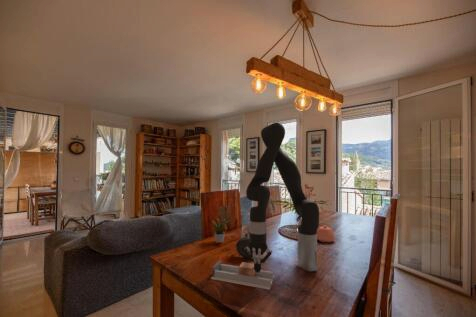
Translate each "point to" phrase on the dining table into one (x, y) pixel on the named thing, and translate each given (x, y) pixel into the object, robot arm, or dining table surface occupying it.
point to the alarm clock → (242, 245)
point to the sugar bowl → (325, 234)
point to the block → (247, 269)
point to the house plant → (219, 231)
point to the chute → (241, 276)
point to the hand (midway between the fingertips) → (257, 271)
